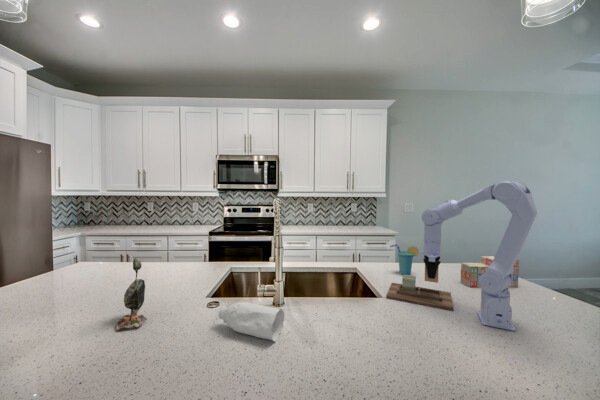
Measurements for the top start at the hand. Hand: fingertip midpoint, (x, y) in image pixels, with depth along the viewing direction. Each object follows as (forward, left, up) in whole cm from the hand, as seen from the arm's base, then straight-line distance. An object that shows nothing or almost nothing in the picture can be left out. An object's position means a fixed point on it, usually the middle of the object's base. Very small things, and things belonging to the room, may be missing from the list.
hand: (431, 276), depth 96 cm
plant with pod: (-65, +80, -9) cm, 103 cm away
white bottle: (-53, +45, -9) cm, 70 cm away
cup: (+26, +12, -9) cm, 30 cm away
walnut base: (-1, +4, -8) cm, 9 cm away
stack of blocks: (+29, -23, -9) cm, 38 cm away
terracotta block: (0, 0, -2) cm, 2 cm away
